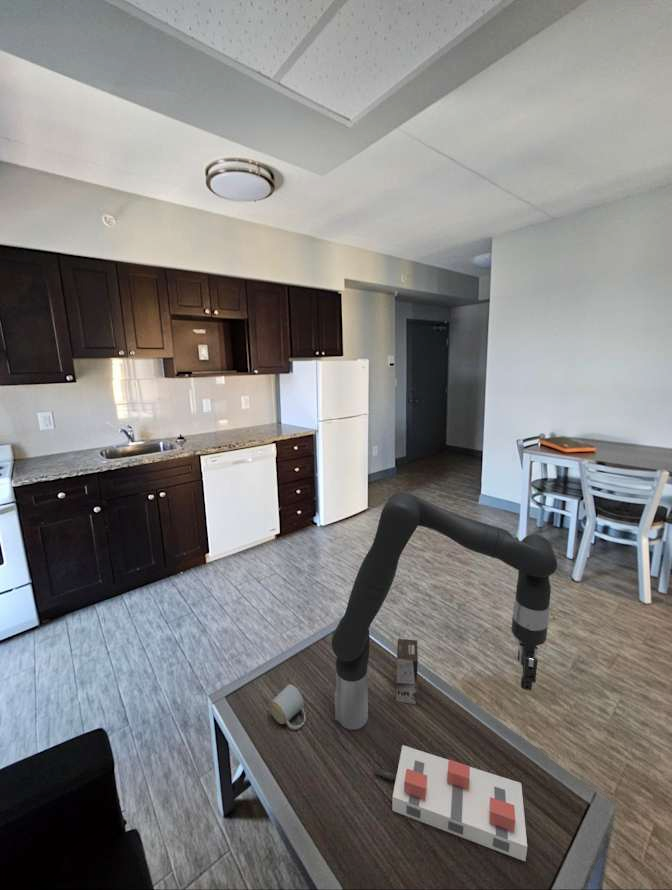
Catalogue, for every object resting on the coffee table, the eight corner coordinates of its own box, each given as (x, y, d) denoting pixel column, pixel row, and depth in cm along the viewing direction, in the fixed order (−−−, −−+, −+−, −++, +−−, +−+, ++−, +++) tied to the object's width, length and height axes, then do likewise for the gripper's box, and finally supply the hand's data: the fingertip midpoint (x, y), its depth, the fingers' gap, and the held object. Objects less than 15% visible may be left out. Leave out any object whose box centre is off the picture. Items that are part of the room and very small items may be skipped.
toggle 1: (404, 792, 92) (404, 781, 91) (406, 779, 94) (406, 768, 94) (425, 799, 90) (425, 788, 89) (426, 786, 93) (427, 775, 92)
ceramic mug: (268, 716, 117) (267, 696, 115) (288, 698, 123) (287, 678, 121) (292, 738, 110) (291, 717, 108) (312, 718, 116) (311, 697, 114)
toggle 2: (447, 782, 93) (447, 771, 93) (447, 770, 96) (448, 759, 95) (468, 789, 92) (469, 778, 91) (468, 777, 94) (469, 766, 94)
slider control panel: (368, 802, 94) (367, 787, 93) (380, 750, 106) (380, 737, 105) (525, 862, 82) (527, 846, 81) (519, 797, 94) (521, 782, 93)
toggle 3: (489, 823, 85) (490, 811, 84) (489, 808, 88) (490, 796, 87) (514, 832, 84) (515, 820, 83) (512, 816, 86) (514, 805, 85)
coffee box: (416, 704, 120) (417, 661, 116) (395, 701, 121) (396, 658, 117) (416, 680, 128) (417, 639, 124) (397, 677, 130) (397, 637, 126)
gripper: (510, 596, 98) (505, 650, 102) (515, 635, 85) (509, 694, 89) (543, 602, 96) (536, 656, 100) (553, 642, 83) (545, 703, 87)
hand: (524, 674), depth 94 cm, fingers open, 8 cm apart
